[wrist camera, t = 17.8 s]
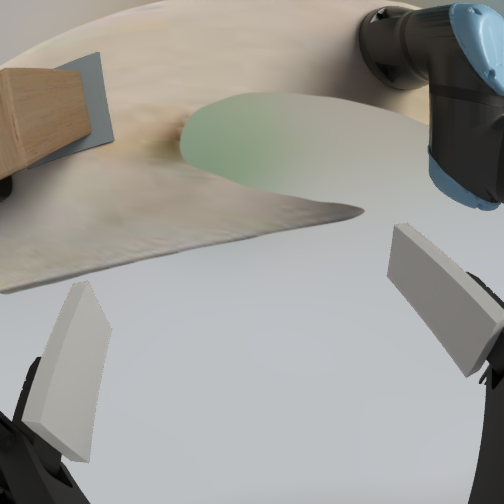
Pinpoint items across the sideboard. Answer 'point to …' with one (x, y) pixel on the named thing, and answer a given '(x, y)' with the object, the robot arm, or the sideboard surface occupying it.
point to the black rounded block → (5, 188)
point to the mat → (88, 107)
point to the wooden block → (39, 115)
